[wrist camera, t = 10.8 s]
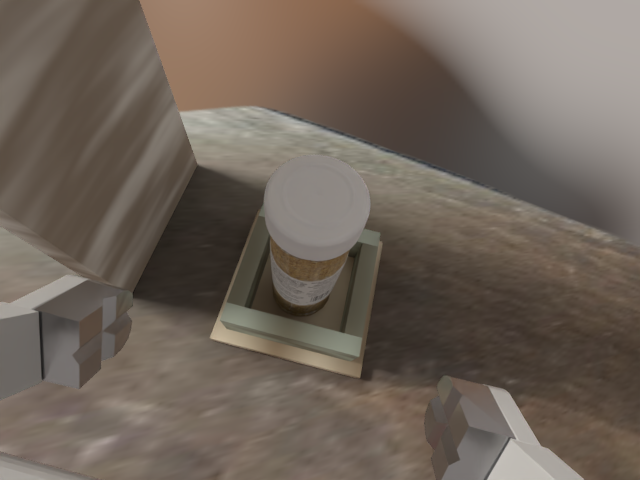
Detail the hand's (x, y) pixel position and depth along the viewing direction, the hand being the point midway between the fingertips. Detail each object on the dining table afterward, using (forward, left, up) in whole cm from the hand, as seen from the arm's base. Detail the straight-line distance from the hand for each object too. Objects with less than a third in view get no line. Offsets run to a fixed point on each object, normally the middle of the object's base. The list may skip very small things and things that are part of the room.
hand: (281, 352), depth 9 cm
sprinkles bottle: (0, -7, -16) cm, 17 cm away
